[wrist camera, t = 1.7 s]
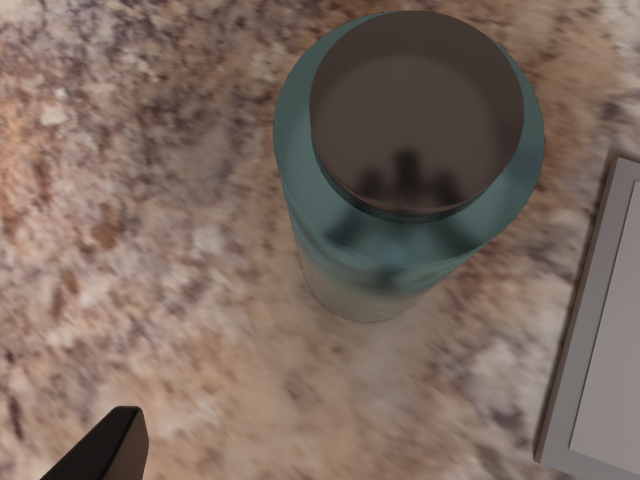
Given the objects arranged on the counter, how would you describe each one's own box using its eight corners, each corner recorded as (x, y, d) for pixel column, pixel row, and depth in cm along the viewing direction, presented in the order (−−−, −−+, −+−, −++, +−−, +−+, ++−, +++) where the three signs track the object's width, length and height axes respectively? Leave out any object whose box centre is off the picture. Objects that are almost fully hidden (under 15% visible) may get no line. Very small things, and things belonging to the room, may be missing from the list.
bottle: (407, 341, 22) (521, 294, 9) (283, 296, 22) (222, 192, 9) (446, 220, 23) (598, 23, 10) (326, 179, 23) (326, -58, 10)
